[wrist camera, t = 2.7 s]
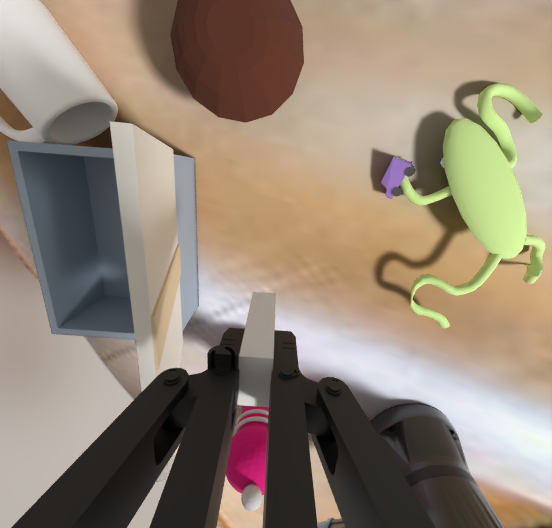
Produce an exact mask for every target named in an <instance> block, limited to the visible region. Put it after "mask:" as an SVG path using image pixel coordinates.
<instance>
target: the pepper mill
mask: <svg viewBox="0 0 552 528" xmlns="http://www.w3.org/2000/svg"><path fill="white" fill-rule="evenodd" d="M242 407H243V408H242V414H241V415H240V416H239V417H238V419H237V421H236V424H235V430H234V436H233V438H232V441H231V447H230V453H229V458H228V464H227V470H226V476H227V479H228V481H229V483H230V484H231V485H232V487H233V488H234V489H236V490H237V491H238V492H240V493H242V498H241V500H242V504H243V506H244V508H245V509H247V510H248V511H254V510H256V509H257V508H258V507H259V505H260V503H261V500H262V495H264V492H265V471H266V451H267V431H268V430H267V426H268V413H269V407H259V406H244V405H242Z"/></svg>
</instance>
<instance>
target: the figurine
mask: <svg viewBox="0 0 552 528" xmlns="http://www.w3.org/2000/svg"><path fill="white" fill-rule="evenodd" d="M492 96H499V97H502V98H504V99H506V100H508V101H510V102H511V103H512V104H513V105H515V107H516V108H517V109H518V110H519V111H520V112H521V113H522V114H523V115H524V116H525V118H526V119H527V120H528V121H529V123H533V122H535V121H537V120H538V119H539V118H540V117H541V116H542V113H541V112H540V111H539V109H538V108H537V107H536V106H535V105H534V104H533V103H532V102H531V101H530V100H529V99H528V98H527V97H526V96H525V95H524V94H523V93H521V92H520V91H519V90H517V89H516V88H514V87H512V86H511V85H507V84H502V83H496V84H493V85H490V86H487V87H486V88H485V89H484V90H483V91H482V92H481V93H480V94H479V98H478V105H477V106H478V111H479V115H480V117H481V118H482V120H483V122H484V123H485V124H486V125H487V126H488V127H489V128H490V129H491V130H492V131H493V132H494V133H495V135H496V136H497V138H498V141H499V143H500V147H501V149H500V147H499V146H498V144H497V142H496V141H495V140H494V139H493V138H492V137H491V136H490V135H489V134H488V133H487V132H486V131H485V130H484V129H483V128H482V127H481V126H480V125H478V124H476V123H474V122H472V121H471V120H469V119H467V118H464V119H455V120H453V121H452V123H451V124H450V125H449V127H448V128H447V129H446V131H445V137H444V143H443V158H442V160H441V161H440V164H441V166H442V167H443V168H445V173H446V176H447V180H448V183H449V186H448V187H445V188H443V189H441V190H439V191H437V192H435V193H432V194H430V195H425V196H422V195H420V194H418V193H416V191H415V190H414V189H413V188H412V186H411V184H410V182H409V180H408V177H409V176H412V175H413V174H414V173H415V169H414V166H413V165H412V164H413V163H414V162H413V161H411V162H409V161H406V160H404V159H401V158H398V157H393V159H392V161H391V163H390V165H389V167H388V169H387V171H386V173H385V175H384V177H383V179H382V181H381V183H382V184H383V185H384V187H385V188H386V189H387V192H386V196H387V197H388V198H390V199H392V197H393V196H399V195H400V194H402V191H403V192H404V194H405V196H406V197H407V198H408V199H409V201H410V202H412V203H414V204H416V205H426V204H430V203H433V202H436V201H438V200H441V199H443V198H446V197H449V196H453V198H454V200H455V203H456V205H457V207H458V209H459V211H460V214H461V216H462V218H463V219H464V221H465V222H466V224H467V225H468V227H469V229H470V230H471V232H472V233H473V235H474V236H475V238H476V239H477V240H478V241H479V242H480V243H481V244H482V245H483V246H484V247H485V248H486V249H487V250H488V251H489V252H490V253H491V254H490V255H489V257H488V259H487V260H486V262H485V263H484V265H483V266H482V267H481V269H480V270H479V272H478V273H477V274H476V275H475V276H474V278H472V279H471V280H470V281H469V282H468V283H465V284H462V285H459V286H452V285H450V284H448V283H446V282H444V281H443V280H441V279H439V278H438V277H435V276H433V275H430V274H426V275H421V276H420V277H418V278H417V279H416V280H415V281H414V283H413V285H412V290H411V302H410V307H411V309H412V310H413V312H414V313H416V314H418V315H425V316H428V317H430V318H432V319H434V320H436V321H437V323H438V324H439V326H440V327H442V328H447V327H449V326H450V324H449V322H448V320H447V319H446V318H445V317H444V316H443V315H442V314H440V313H439V312H437V311H435V310H432V309H430V308H426V307H422V306H420V305H418V304H416V303H415V302H414V301H413V296H414V294H415V291H416V289H418V288H419V287H420V286H421V285H422V284H433V285H435V286H437V287H439V288H440V289H442V290H444V291H445V292H447V293H449V294H453V295H456V296H458V295H462V294H466V293H469V292H472V291H474V290H475V289H477V288H478V287H479V286H481V285H482V284H483V282H484V281H485V280H486V279H487V278H488V277H489V276H490V274H491V273H492V272H493V270H494V269H495V268H496V266H497V265H498V263H499V262H500V260H501V258H502V259H506V258H514V257H515V256H516V255H517V254H518V253H519V252H521V251H522V249H523V246H524V245H532V246H533V248H532V251H531V254H530V261H531V265H530V264H526V266H527V273H526V274H525V276H524V278H523V280H524V281H525V282H527V283H534V282H535V281H536V280H537V278H538V277H539V276H540V274H541V272H542V270H543V263H542V255H543V252H544V249H545V243H544V241H543V240H542V239H541V238H539V237H538V236H534V235H527V230H526V211H525V207H524V203H523V198H522V194H521V190H520V187H519V185H518V182H517V180H516V177H515V175H514V173H513V170H512V168H513V167H514V166H515V164H516V161H517V154H516V149H515V146H514V143H513V140H512V137H511V133H510V131H509V128H508V127H507V125H506V124H505V122H504V121H503V120H502V119H501V118H500V117H499V116H498V115H497V114H496V113H495V111H494V109H493V107H492V103H491V99H492ZM407 176H408V177H407Z"/></svg>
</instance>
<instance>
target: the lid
mask: <svg viewBox="0 0 552 528" xmlns="http://www.w3.org/2000/svg"><path fill="white" fill-rule="evenodd" d="M110 129H111V138H112V146H113V155H114V163H115V172H116V180H117V189H118V197H119V206H120V214H121V222H122V231H123V239H124V248H125V256H126V265H127V273H128V282H129V290H130V299H131V307H132V316H133V324H134V333H135V341H136V350H137V358H138V366H139V375H140V383H141V392H142V391H143V390H144V389H145V388H146V387H147V386H148V385H149V384H150V383H151V382H152V381H153V380H154V379H155V378H156V377H157V376H158V375H159V374H160V373H162V372H163V371H165V370H167V369H170V368H180V364H181V356H182V348H183V335H182V315H181V295H180V276H181V262H180V244H178V235H177V215H176V195H175V175H174V155H173V149H172V148H170V147H169V146H167V145H165V144H164V143H162V142H161V141H159V140H157V139H156V138H154V137H153V136H151V135H149V134H148V133H146V132H145V131H143V130H142V129H140V128H138V127H137V126H135V125H134V124H130V123H121V122H112V121H110ZM167 466H168V463H167V465H166V466H165V468H164V469H163V471H162V473H161V474H160V476H159V477H158V479H157V480H156V482H158V481H163V480H166V473H167Z"/></svg>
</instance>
